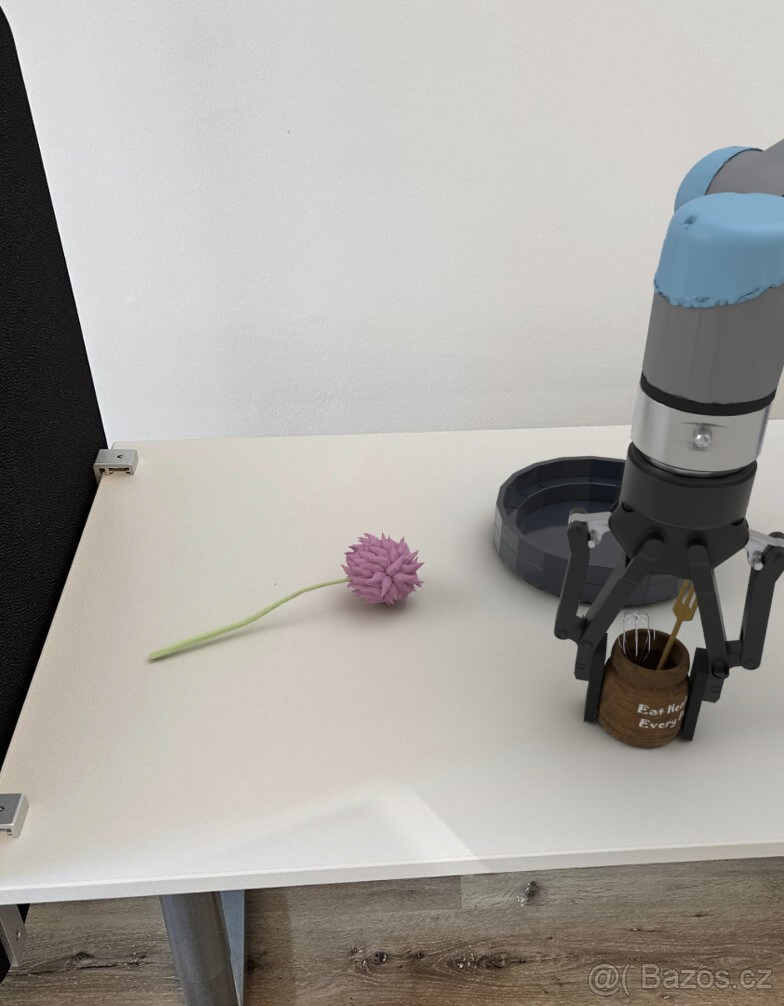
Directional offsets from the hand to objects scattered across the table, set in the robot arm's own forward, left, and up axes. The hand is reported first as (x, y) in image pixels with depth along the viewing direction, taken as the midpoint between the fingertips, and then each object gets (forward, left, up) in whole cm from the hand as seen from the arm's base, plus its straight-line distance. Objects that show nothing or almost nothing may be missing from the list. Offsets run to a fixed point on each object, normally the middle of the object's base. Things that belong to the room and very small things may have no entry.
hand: (637, 718), depth 80 cm
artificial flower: (+28, -4, 0) cm, 28 cm away
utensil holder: (0, 0, 0) cm, 0 cm away
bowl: (+4, -22, 0) cm, 22 cm away
